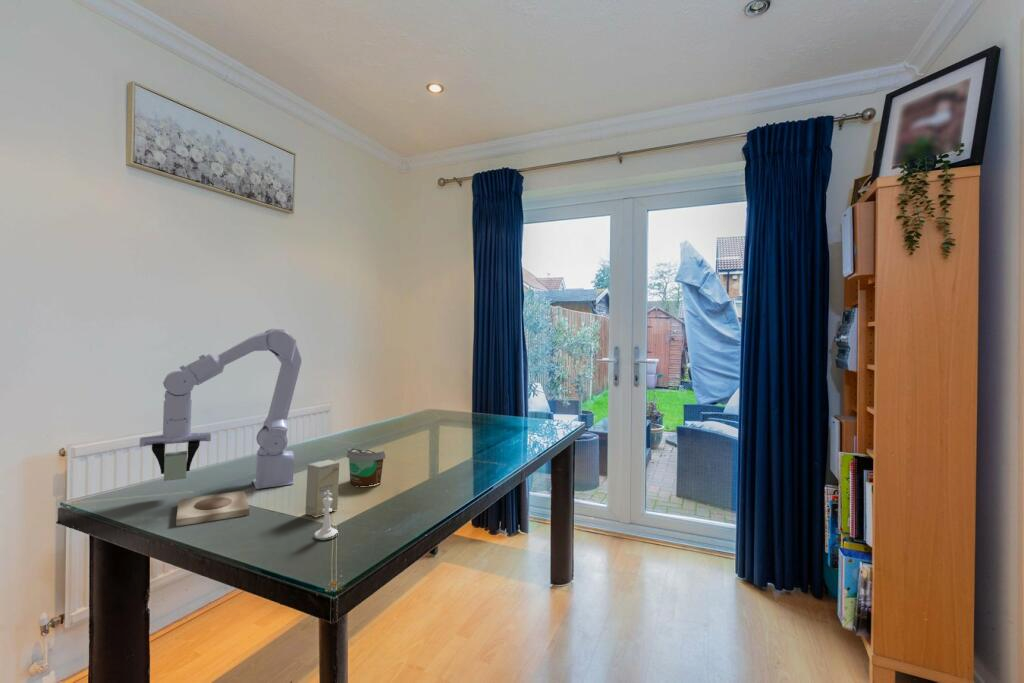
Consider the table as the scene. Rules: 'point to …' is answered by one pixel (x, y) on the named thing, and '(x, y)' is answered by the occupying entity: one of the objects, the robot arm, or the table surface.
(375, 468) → the food container
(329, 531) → the chess piece
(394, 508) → the table surface
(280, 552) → the table surface
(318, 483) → the skincare box
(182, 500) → the display base
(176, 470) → the green block
